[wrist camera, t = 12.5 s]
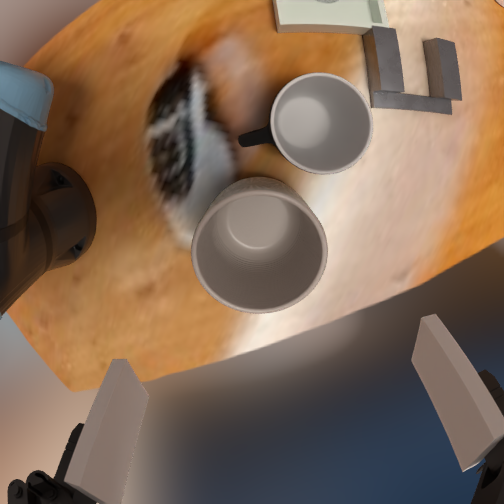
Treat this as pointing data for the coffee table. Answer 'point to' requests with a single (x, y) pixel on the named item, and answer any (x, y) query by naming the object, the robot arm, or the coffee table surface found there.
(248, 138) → the mug
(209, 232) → the planter
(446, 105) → the hitch clevis
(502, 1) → the can
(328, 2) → the pin
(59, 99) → the coffee table surface
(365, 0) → the tray
